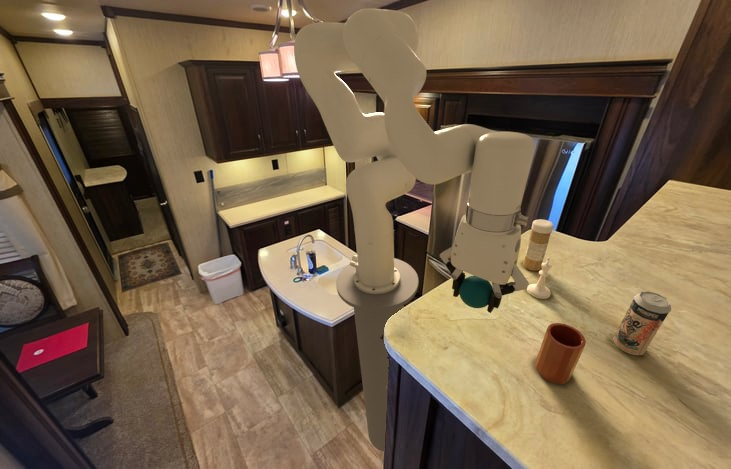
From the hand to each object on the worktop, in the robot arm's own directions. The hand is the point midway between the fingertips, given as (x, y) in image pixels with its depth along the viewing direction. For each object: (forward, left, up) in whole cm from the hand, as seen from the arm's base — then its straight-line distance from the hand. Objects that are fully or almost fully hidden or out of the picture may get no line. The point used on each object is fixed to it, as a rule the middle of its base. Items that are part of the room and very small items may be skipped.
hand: (474, 299), depth 54 cm
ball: (0, 0, -1) cm, 1 cm away
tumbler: (+15, +2, -10) cm, 18 cm away
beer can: (+25, +16, -10) cm, 31 cm away
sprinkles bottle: (+4, +33, -10) cm, 35 cm away
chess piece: (+8, +23, -10) cm, 26 cm away
